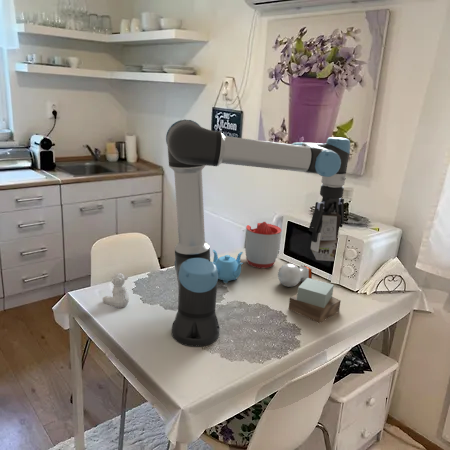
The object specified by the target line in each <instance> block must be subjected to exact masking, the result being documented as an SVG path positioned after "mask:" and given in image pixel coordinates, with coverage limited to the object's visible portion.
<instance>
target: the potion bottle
mask: <svg viewBox="0 0 450 450" xmlns="http://www.w3.org/2000/svg"><path fill="white" fill-rule="evenodd" d="M312 273H313V271H312V268H311V267H308V266H306V265H302V264H301V265H300V266H299V267H298V265H297V264H293V263H291V262H288V263H285V264H284V265H282V266H280V267H279V268H278V272H277V279H278V281H279V282H280V283H281V285H282V286H283V287H288V288H293V287H295V286H297V285H298V284H299V283H300V282H302V283H303V282H304V281H305V280H306V279H307V278H310V279H313V278H312V277H313V276H312V275H313V274H312Z"/></svg>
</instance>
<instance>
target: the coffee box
mask: <svg viewBox="0 0 450 450" xmlns="http://www.w3.org/2000/svg"><path fill="white" fill-rule="evenodd" d="M321 218H322V221H323V222H322V228H321V230H320V232H319V233H321V236H320V244H319V251H318V252H316V251H314V250H311V252H312V254H313V256H314V257H315V260H316V261H326V262H334V261H335V256H336V250H337V245H336V244H338V237H339V231H340V227H339V226H340V220H341V216H340V215H339V214H338V212H330V213H329V214H328V215H324V214H322V216H321Z"/></svg>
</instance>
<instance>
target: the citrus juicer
mask: <svg viewBox="0 0 450 450" xmlns="http://www.w3.org/2000/svg"><path fill="white" fill-rule="evenodd" d="M256 225H257V226H256V227H255V228H252V226H251V225H250V224H249V225H246V227H245V228H246V231H245V232H246V233H245V245H244V246H245V247H244V248H245V249H244V251H245V258H246V261H247V263H248V265H249V266H252V267H254V268H258V269H268V268H271V267H273V266H274V265H275V263H276V261H277V260H276V259H277V258H278V254H279V248H280V243H281V242H280V241H281V233H282V229H281V227H280V226H277V225H274V224H273V223H272V224H271V223H267V222H266V221H263V222H257V224H256Z"/></svg>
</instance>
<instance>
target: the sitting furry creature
mask: <svg viewBox="0 0 450 450" xmlns="http://www.w3.org/2000/svg"><path fill="white" fill-rule="evenodd" d="M128 279H129V276H128V275H124V274H123V273H121V272H117V273H114V276H112V277H111V280H110V281H111V283H112V285H113V288H112V296H110V295H105V296H103V297H102V302H103V303H104V304H105V305H108V306H111V307H114V308H117V309H118V308H119V309H121V308H122V309H123V308H125V307H126V306H127V305H128V304H129V301H130V298H129V293H128V292H127V289H126V286H125V285H124V284H125V282H126V280H128Z"/></svg>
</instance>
